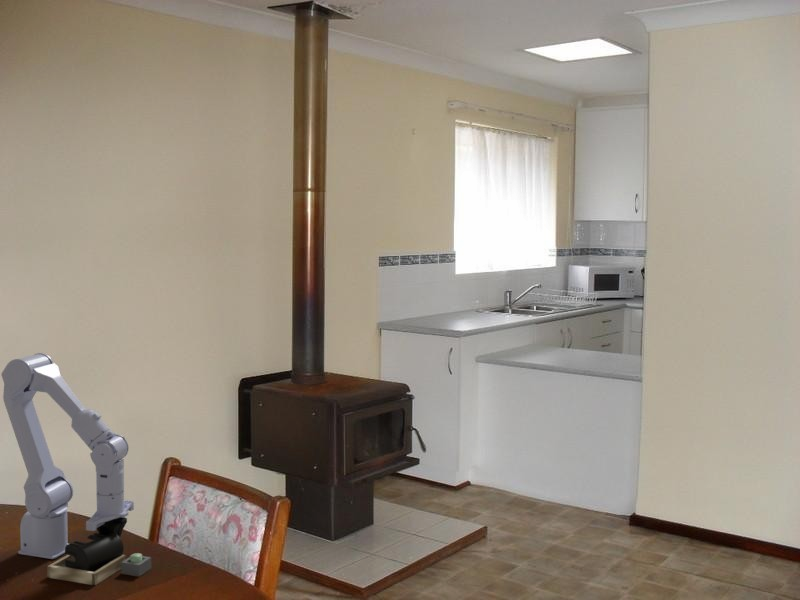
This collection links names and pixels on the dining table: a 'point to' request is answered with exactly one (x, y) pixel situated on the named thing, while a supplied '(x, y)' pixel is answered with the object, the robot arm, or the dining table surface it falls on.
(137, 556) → the button
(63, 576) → the cream square frame
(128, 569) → the button housing
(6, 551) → the dining table surface
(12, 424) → the robot arm
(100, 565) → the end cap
